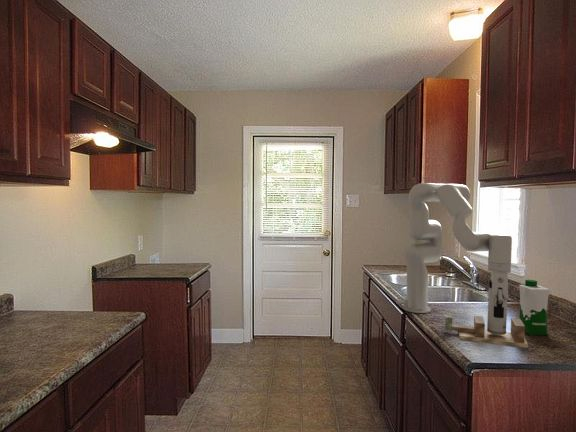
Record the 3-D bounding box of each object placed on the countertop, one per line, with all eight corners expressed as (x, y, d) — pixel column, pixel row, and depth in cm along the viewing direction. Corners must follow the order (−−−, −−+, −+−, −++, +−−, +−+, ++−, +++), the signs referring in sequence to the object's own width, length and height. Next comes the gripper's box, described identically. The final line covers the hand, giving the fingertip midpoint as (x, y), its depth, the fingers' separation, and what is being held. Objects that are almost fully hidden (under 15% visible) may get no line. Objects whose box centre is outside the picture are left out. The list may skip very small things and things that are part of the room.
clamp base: (459, 338, 146) (460, 319, 146) (459, 329, 157) (459, 311, 157) (527, 347, 138) (528, 327, 137) (522, 337, 149) (522, 318, 148)
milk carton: (536, 328, 160) (538, 279, 159) (551, 335, 151) (553, 284, 150) (515, 328, 160) (516, 279, 159) (528, 335, 151) (530, 284, 150)
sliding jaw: (445, 332, 149) (445, 319, 149) (445, 324, 158) (445, 312, 158) (484, 337, 144) (484, 323, 144) (482, 329, 153) (482, 316, 153)
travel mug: (509, 335, 143) (511, 281, 142) (490, 334, 144) (492, 280, 143) (503, 330, 149) (505, 278, 148) (485, 328, 150) (486, 277, 150)
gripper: (514, 271, 136) (512, 322, 137) (507, 264, 152) (505, 310, 153) (490, 270, 139) (488, 320, 140) (486, 263, 155) (484, 308, 156)
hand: (497, 314), depth 146 cm, fingers closed on travel mug, 6 cm apart
